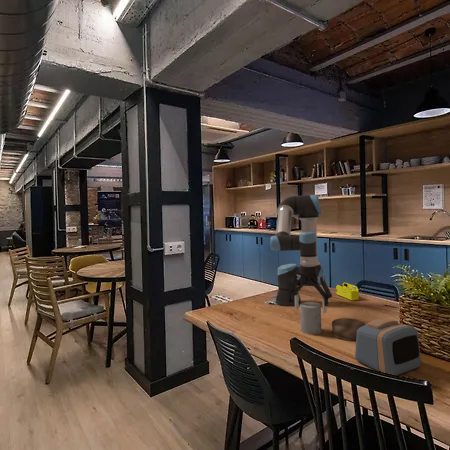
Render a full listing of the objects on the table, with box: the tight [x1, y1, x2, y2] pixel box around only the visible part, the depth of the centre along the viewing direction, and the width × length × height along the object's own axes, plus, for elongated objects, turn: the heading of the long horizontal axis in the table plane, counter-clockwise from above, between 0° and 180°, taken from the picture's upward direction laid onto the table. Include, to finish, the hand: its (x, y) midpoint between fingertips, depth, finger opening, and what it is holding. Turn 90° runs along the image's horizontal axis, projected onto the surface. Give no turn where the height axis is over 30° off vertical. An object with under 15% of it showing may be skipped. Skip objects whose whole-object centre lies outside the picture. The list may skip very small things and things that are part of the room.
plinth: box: [330, 317, 366, 342], centre depth 147 cm, size 15×15×5 cm
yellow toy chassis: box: [335, 282, 360, 301], centre depth 206 cm, size 16×6×8 cm, turn 14°
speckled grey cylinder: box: [299, 301, 323, 335], centre depth 153 cm, size 10×10×12 cm
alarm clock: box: [354, 317, 422, 376], centre depth 118 cm, size 16×16×16 cm
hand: (310, 310), depth 153 cm, fingers open, 13 cm apart
